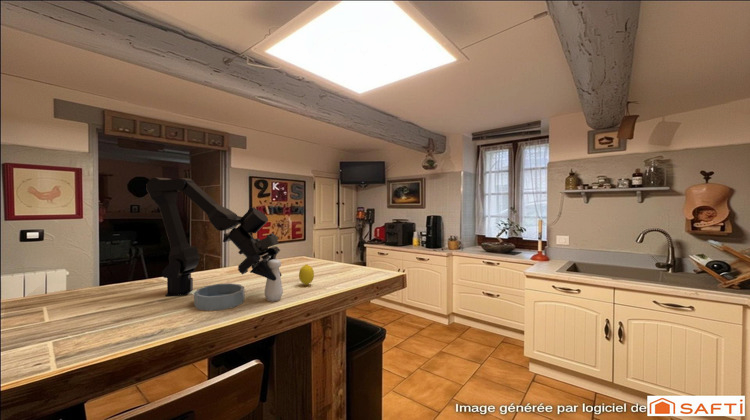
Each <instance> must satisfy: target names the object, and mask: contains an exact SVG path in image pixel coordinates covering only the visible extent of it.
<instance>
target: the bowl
mask: <svg viewBox="0 0 750 420" xmlns="http://www.w3.org/2000/svg"><path fill="white" fill-rule="evenodd" d="M244 301H245V286H243V285H241V284H239V283H238V284H237V283H230V282H229V283H217V284H216V283H215V284H211V285H205V286H204V287H200V288H198V289H196V291H194V293H193V306H194V307H195V308H196V309H197V310H199V311H200V310H201V311H207V312H213V311H224V310H227V309H231V308H236V307H238V306H240V305H242V304H243V303H244Z"/></svg>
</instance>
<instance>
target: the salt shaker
mask: <svg viewBox="0 0 750 420" xmlns="http://www.w3.org/2000/svg"><path fill="white" fill-rule="evenodd" d="M267 265H268V267H269V268H270V269H271V271H272V272H273V274H274V275H275V277H276V278H277V279H276V280H275V281H273V280H270V279H268V278H266V282H265V288H264V296H265V298H266V300H267V301H268V302H278V301H280V299H281V298H282V296H283V294H284V289H283V285H282V278H281V277H280V273H281V270H280V267H282V261H281V259H278V258H276V259H272V260H269V261H268V262H267ZM279 270H280V271H279Z"/></svg>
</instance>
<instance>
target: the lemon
mask: <svg viewBox="0 0 750 420" xmlns="http://www.w3.org/2000/svg"><path fill="white" fill-rule="evenodd" d="M298 272H299V273H298V277H299V281H300V282H301V283H302V284H304V285H305V286H308V285H309V284H311V283H312V282H313V281H314V277H315V273H314V268H313V267H312V266H310V265H309V264H306V263H305V264H304V265H303V266H302V267H300V269H299V271H298Z"/></svg>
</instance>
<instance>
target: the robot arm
mask: <svg viewBox="0 0 750 420" xmlns="http://www.w3.org/2000/svg"><path fill="white" fill-rule="evenodd" d="M145 188H146V191H147V193H148V195H149V198H150V199H151V200H152V201H153V203H155V204H156V205H157V206H158V208H159V212H160V215H161V217H162V221H163V225H164V228H165V232H166V235H167V239H168V242H169V245H170V250H169V253H168V265H167V266H166V267H165V268H164V269H162V271H161V274H162V277H163V278H164V279H166V280H167V281H166V286H167V287H166V288H167V290H166V291H167V292H166V293H165V295H164V296H165V297H171V296H172V297H174V296H188V295H189V294H190V293H191V292H192V291H193V287H194V283H193V281H194V278H193V277H192V273H194V272H195V271H196V268H197V266H198V265H199V263H200V258H201V256H200V254H199V252H198V247H197V246H195V245H194V246H192V245H190V244H189V242H188V239H187V236H186V232H185V229H184V226H183V223H182V218H181V216H180V212H179V209H178V206H177V199H178V196H179V192H182V193H183V194H184V195H185V196H186V197H187V198H188V199H190V201H192V202H193V204H195V205H196V206H198V208H200V209H201V210H202V211H203V212H204V213H205V214H206V216H207V218H208V220H209V222H210V224H211V225H212V226H213V228H215V230H217V231H219V232H221V231H223V232H224V231H228V230H229V232H226V233H223V239H222V242H223V243H227V242H232V243H233V244H234V245H235V247H236V248H237V249H238V250H239V251H238V254H239V255H243V256H245V258H244V260H242V261H241V263H239V264H238V265H237V266H238V267H237V270H238V272H239V274H241V275H244V274H246V273H247V272H249V273H250V274H255V275H258V276H261V277H263V278H265V279H267V278H268V279H270V280H273V281H275V280H276V279H277V278H276V277H275V275H274V274H273V272H272V271H271V269H270V268H269V267H268V265H267V262H268V261H269V260H272V259H277V254H279V253H280V252H281V249H280V248H279V247H278V246H275V245H278V244H279V241H278V240H279V236H277V234H274V233H273V232H272V233H269V234H267V235H266V237H265V238H263V239H260V238H258V237H257V238H255V237H253V236H252V234H257V233H258V232H259V231H260V229H262V228H263V227H264V226H265V225H266V224H267V223H268V221H269V218H268V217H267V215H266V214H265V213H263V212H262V211H260V210H259V209H257V208H256V207H255V206H253V207H250V208H248V210H247V212H246V213H244V215H243V216H241V215H240V216H239V215H238V214H237V213H235V212H234V211H232V210H231V209H229V208H227V207H225V206H222V205H220V204H219V203H217V201H215V200H214V199H213V198H212V197H211V196H210V195H208V194H207V193H206V191H204V190H203V189H202V188H201V187H200V186H199V185H197V184H196V183H195V181H194V180H193V179H191V178H186V177H185V178H183V177H182V178H177V179H172V178H166V177H151V178H150V179H149V180H148V181H147V183H146V184H145ZM250 268H251V270H250V271H249V269H250ZM279 271H280V277H281V276H282V273H281V270H280V269H279Z"/></svg>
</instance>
